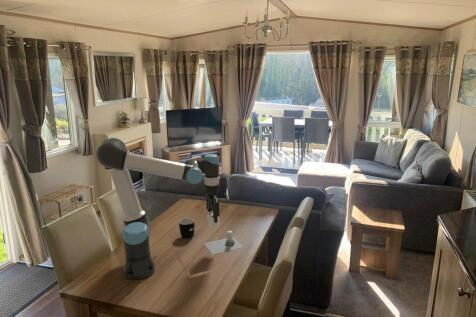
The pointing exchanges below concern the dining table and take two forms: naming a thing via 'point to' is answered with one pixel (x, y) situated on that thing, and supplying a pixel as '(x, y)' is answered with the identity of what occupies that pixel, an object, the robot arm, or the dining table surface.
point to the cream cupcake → (210, 220)
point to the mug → (187, 227)
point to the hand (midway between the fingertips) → (213, 225)
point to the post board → (223, 244)
